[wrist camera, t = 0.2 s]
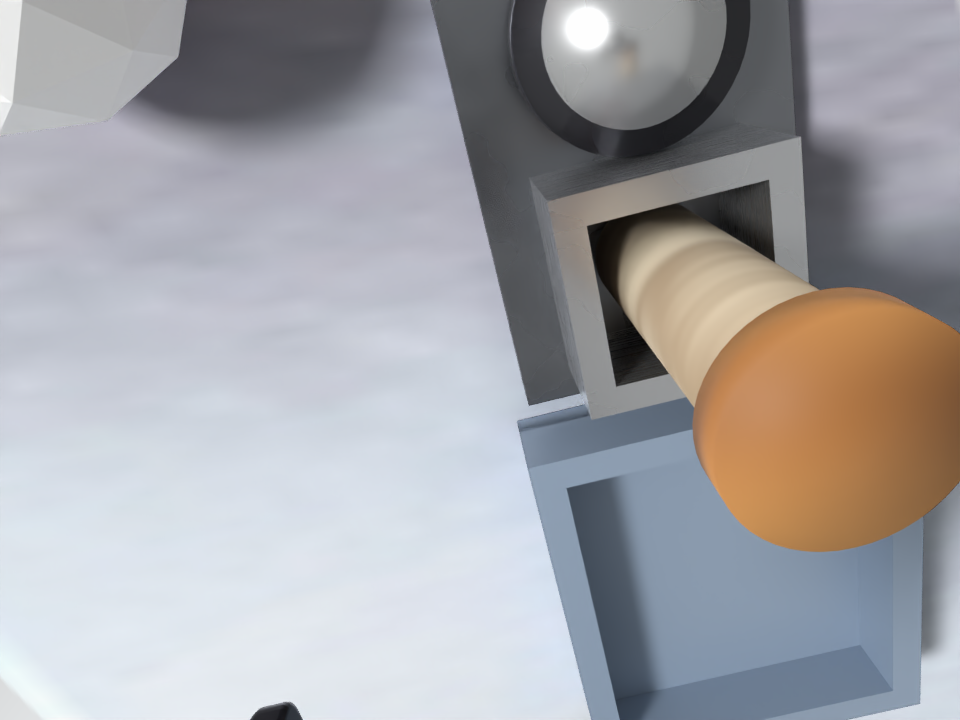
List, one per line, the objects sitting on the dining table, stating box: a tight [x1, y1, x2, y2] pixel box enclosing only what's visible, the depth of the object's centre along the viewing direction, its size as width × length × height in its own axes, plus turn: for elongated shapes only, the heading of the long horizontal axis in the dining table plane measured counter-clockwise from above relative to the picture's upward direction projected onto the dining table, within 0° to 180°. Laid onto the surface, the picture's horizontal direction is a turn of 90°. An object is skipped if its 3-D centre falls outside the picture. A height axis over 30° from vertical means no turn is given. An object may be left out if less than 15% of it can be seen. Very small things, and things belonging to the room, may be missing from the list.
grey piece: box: [430, 0, 809, 420], centre depth 19 cm, size 13×9×4 cm
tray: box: [517, 397, 924, 720], centre depth 25 cm, size 14×12×3 cm
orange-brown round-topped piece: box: [595, 203, 960, 552], centre depth 16 cm, size 4×4×11 cm
